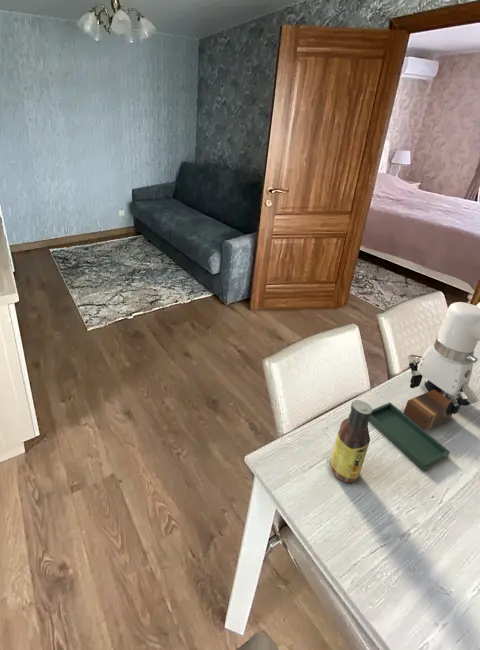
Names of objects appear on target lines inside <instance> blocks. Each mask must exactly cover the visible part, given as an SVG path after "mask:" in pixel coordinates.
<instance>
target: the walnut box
mask: <svg viewBox="0 0 480 650" xmlns="http://www.w3.org/2000/svg"><path fill="white" fill-rule="evenodd" d="M450 402H452V400H450V399H449V398H448V397H447V398H446V397H444V396H443V395H442V394H440V393H439V392H437V391H436V390H431V391H429V392H428V391H427V392H425V393H422V394H419V395H418V396H415V397H412V398H410V399H408V400H407V402H406V405H405V407H404V411H403V413H404V414H405V415H406V416H407V417H408V418H410V419H411V420H412V421H413V422H415V423H416V424H417V425H418V426H419V427H421V428H422V429H423V430H424V431H425V432H426V431H427V430H430V429H432V428H434V427H436V426H438V425H439V424H442V423H444V422H446V421H448V420H450V419H451V418H452V416H453V415H454V414H453V413H452V414H450V415H446V413H445V412H446V410H447V407H448V405H449V403H450Z"/></svg>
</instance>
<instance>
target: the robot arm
mask: <svg viewBox="0 0 480 650" xmlns="http://www.w3.org/2000/svg"><path fill="white" fill-rule="evenodd" d="M479 341H480V301H479V302H478V303H477V304H476V305H474V304H471V303H470V302H469V303H468V302H465V301H464V302H463V301H457V302H453V303H451V304H449V306H448V308H447V310H446V312H445V316H444V317H443V321H442V322H441V326H440V328H439V331H438V333H437V336H436V338H435V341H434V342H432V343H431V344H430V345H429V346H428V347H427V349H426V350H425V352H424V353H423V354H422V355H416V354H409V355H408V356H407V359H408V362H409V363H408V367H409V368H410V371H411V372H410V373H411V379H410V381H409V383H410V384H409V388H410V389H415V388H418V387H419V386H420V385H421V382H422V380H423V378H425V380H426V379H428V380H429V381H430V382H432V383H433V384H435V385H436V386H437V387H439V388H440V389H442V390H443V391H445V392H446V393H448V394H450V396H449V398H450V399H451V401H452V402H450V403H449V405H448V407H447V410H446V412H445V413H446V415H450V414H452V413H453V414H452V415H456V414H457V413H459V410H460V408H461V407H467V406H470V405H473V404H476V403H478V402H479V401H480V399H479V397H478V396H477V395H476V393H475V392H474V391H473V390H472V389H471V388H470V386H469V383H470V380H471V377H472V374H473V373H472V372H473V368H474V364H476V363H477V362H478V360H479V358H477V357H476V356H475V354H474V353H475V349H476V346H477V344H478V343H479ZM417 362H418V363H417ZM463 393H464V394H465V395H466V397H467V398H464V396H463Z"/></svg>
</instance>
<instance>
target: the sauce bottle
mask: <svg viewBox="0 0 480 650" xmlns="http://www.w3.org/2000/svg"><path fill="white" fill-rule="evenodd" d="M350 405H351V406H350V413H349V415H348V417H347V418H345V419H344V420H342V421H341V423H340V425H339V430H338V432H337V435H336V438H335V441H334V442H335V444H334V447H333V450H332V453H331V458H330V468H331V472H332V473H333V475H334V476H335V477H336V478H337V479H339V480H340V481H342V482H345V483H353V482H355V481H356V480H357V479H358V478H359V476H360V474H361V470H362V468H363V464H364V461H365V458H366V455H367V452H368V448H369V445H370V442H371V438H370V437H371V436H370V431H369V423H370V422H369V418H370V417H371V416H372V410H373V408H372V406H371V405H370V404H369V403H368V402H366V401H364V400H361V399H354V400H353V401H352V402H351V404H350Z"/></svg>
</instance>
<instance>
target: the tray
mask: <svg viewBox="0 0 480 650" xmlns="http://www.w3.org/2000/svg"><path fill="white" fill-rule="evenodd" d="M368 423H370V424H372V426H373V427H374V428H376V430H378V431H379V432H380V433H381V434H382V435H383V436H384V437H386V438H387V439H388V440H389V442H391V443H392V444H393V445H394V446H395V447H396V448H397V449H399V451H401V452H402V453H403V455H405V456H406V457H407V458H408V459H409V460H410V461H411V462H412V463H413V464H415V466H416V467H418V468H419V469H420V470H421V471H422V472H423V471H425V470H427V469H429V468H431V467H432V466H435V465H436V464H438V463H440V462H441V461H443V460H445V459H447V458H448V457H449V456H450V453H451V451H450V450H448V449H447V448H446V447H445V446H444V445H443V444H442V443H440V442H439V441H438V440H436V439H435V438H434V437H433V436H432V435H431V434H429V433H428V432H427V431H426V430H425V431H424V430H423V429H422V428H421V427H419V426H418V425H417V424H416V423H415V422H413V421H412V420H411V419H410V418H408V417H407V416H406V415H405V414H404V412H403V411H401V410H400V409H399V408H397V406H395V405H394V404H392V402H387V403H385V404H383V405H380V406H378V407H375V408H372V416H371V417H370V418H369V422H368Z"/></svg>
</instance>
